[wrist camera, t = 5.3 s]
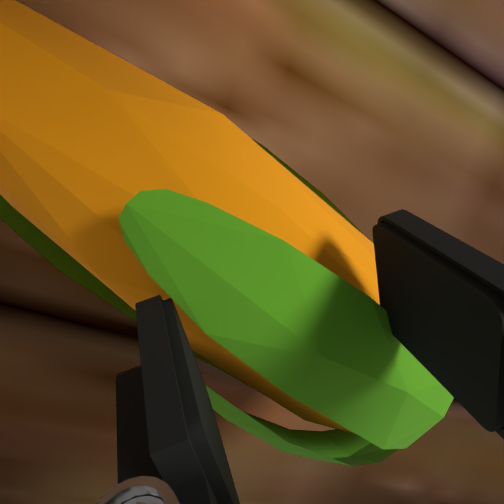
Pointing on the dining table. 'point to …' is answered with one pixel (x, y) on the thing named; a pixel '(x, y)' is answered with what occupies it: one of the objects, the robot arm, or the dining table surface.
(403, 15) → the dining table surface
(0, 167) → the corn
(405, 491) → the dining table surface
